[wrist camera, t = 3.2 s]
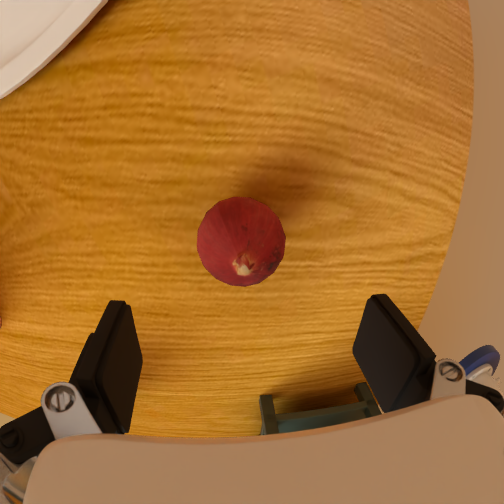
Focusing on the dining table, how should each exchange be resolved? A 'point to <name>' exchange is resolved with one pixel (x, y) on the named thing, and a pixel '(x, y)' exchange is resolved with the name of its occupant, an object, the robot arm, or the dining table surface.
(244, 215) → the onion
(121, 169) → the dining table surface
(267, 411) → the shelf stand
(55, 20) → the plate
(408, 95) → the dining table surface
